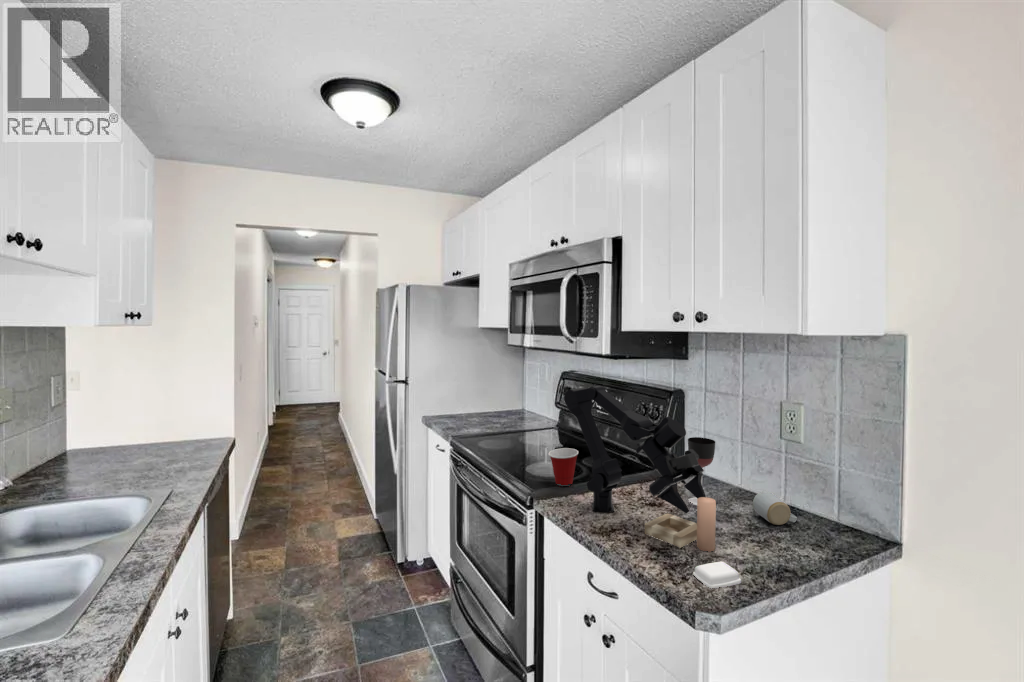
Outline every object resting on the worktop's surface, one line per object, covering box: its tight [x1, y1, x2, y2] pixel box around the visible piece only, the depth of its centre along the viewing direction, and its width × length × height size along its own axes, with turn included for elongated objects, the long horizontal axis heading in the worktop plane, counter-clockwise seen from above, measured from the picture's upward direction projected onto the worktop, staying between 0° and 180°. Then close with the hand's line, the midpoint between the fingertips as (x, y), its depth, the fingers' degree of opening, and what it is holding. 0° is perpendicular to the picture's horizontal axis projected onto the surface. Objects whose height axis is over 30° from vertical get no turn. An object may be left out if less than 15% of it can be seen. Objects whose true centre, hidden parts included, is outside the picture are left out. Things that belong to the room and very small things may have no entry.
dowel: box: [696, 496, 717, 553], centre depth 125 cm, size 4×4×12 cm
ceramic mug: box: [752, 490, 798, 526], centre depth 142 cm, size 11×8×8 cm
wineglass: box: [687, 436, 716, 506], centre depth 156 cm, size 8×9×20 cm
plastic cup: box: [548, 447, 579, 485], centre depth 173 cm, size 11×11×12 cm
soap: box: [692, 561, 742, 590], centre depth 110 cm, size 9×7×3 cm
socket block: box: [644, 513, 697, 549], centre depth 132 cm, size 11×11×3 cm
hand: (697, 507), depth 127 cm, fingers open, 9 cm apart
